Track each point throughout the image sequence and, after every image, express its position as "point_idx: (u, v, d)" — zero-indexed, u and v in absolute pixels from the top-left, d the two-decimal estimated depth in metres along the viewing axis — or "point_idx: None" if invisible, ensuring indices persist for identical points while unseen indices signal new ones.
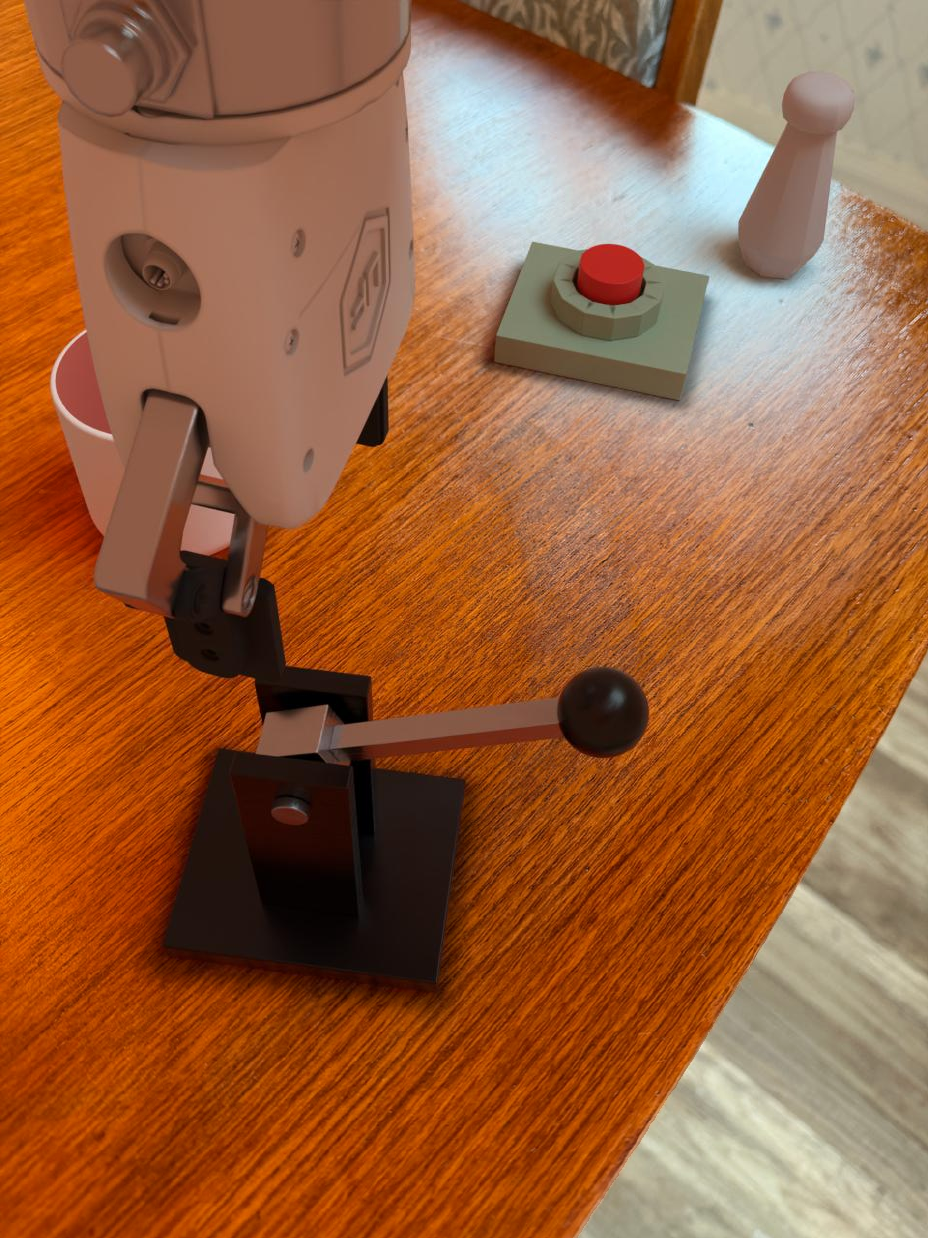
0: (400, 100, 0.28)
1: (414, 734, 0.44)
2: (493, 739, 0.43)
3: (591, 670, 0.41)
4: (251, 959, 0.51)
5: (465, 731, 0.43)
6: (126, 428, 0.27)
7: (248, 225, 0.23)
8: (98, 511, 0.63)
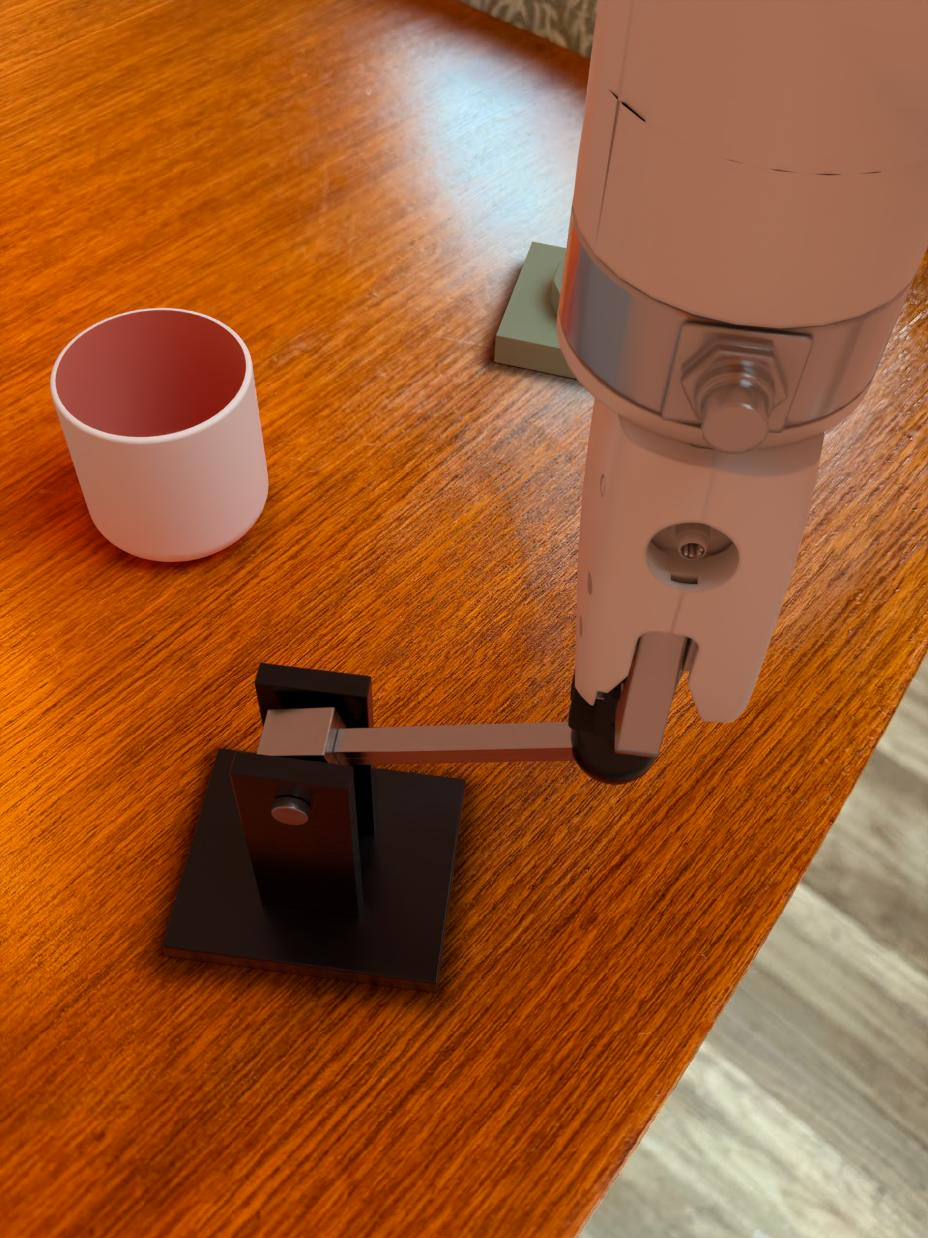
0: None
1: (423, 745, 0.45)
2: (503, 757, 0.44)
3: None
4: (251, 959, 0.51)
5: (476, 747, 0.44)
6: (609, 660, 0.31)
7: (795, 511, 0.27)
8: (98, 511, 0.63)
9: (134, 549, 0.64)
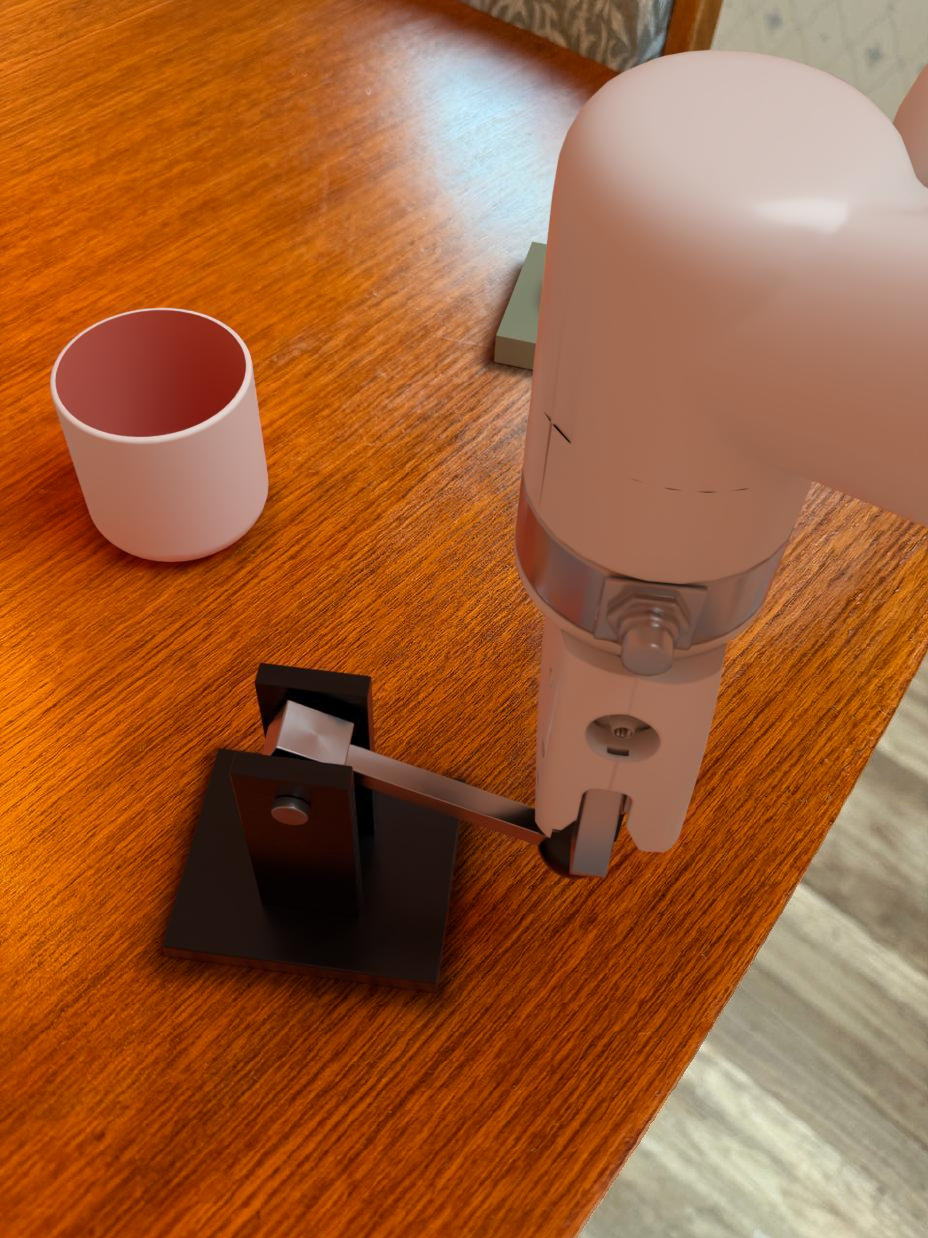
0: None
1: (426, 790, 0.47)
2: (484, 823, 0.48)
3: None
4: (251, 959, 0.51)
5: (471, 808, 0.48)
6: (561, 808, 0.37)
7: (703, 706, 0.33)
8: (98, 511, 0.63)
9: (134, 549, 0.64)
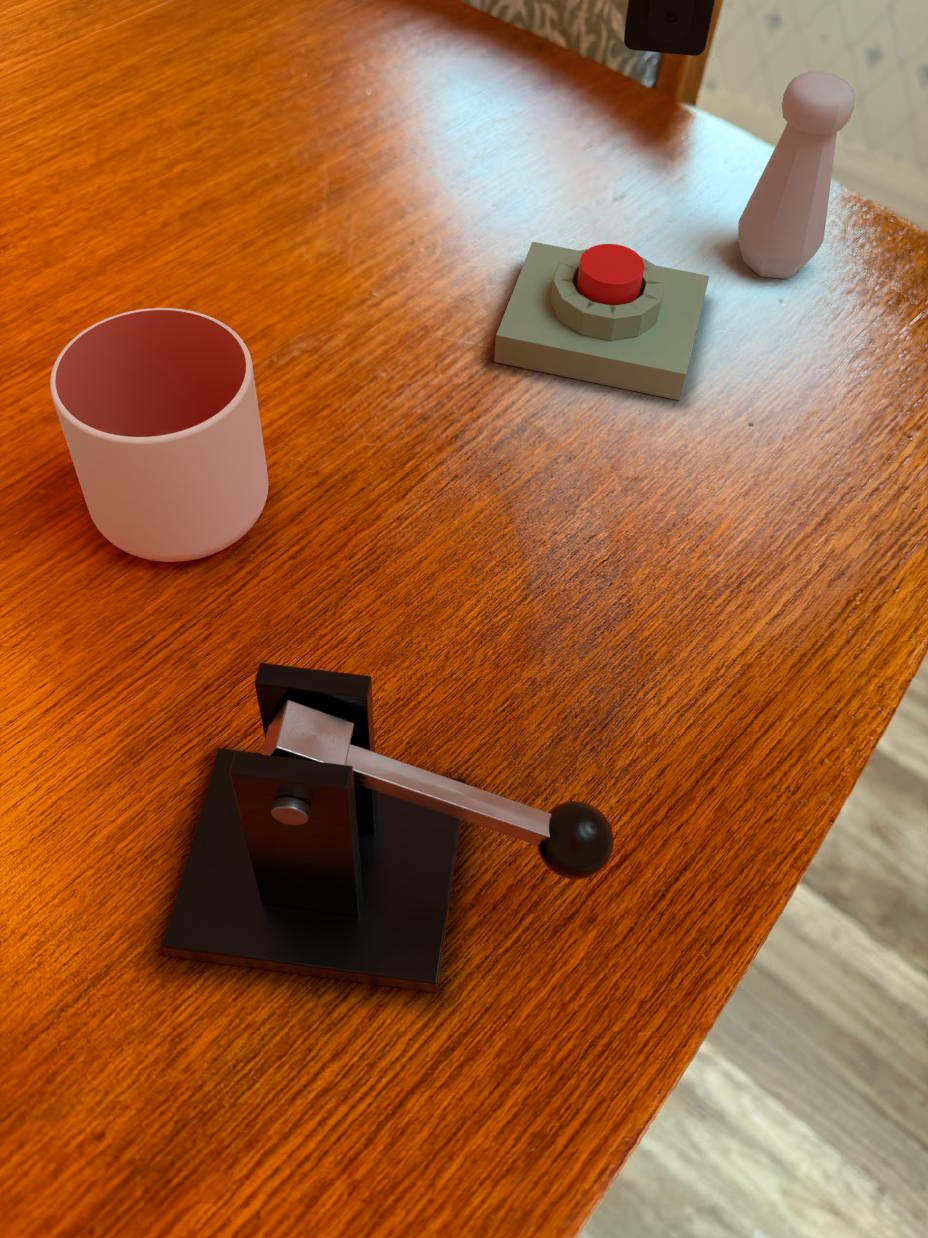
0: None
1: (426, 790, 0.47)
2: (484, 823, 0.48)
3: (592, 809, 0.49)
4: (251, 959, 0.51)
5: (471, 808, 0.48)
6: None
7: None
8: (98, 511, 0.63)
9: (134, 549, 0.64)
